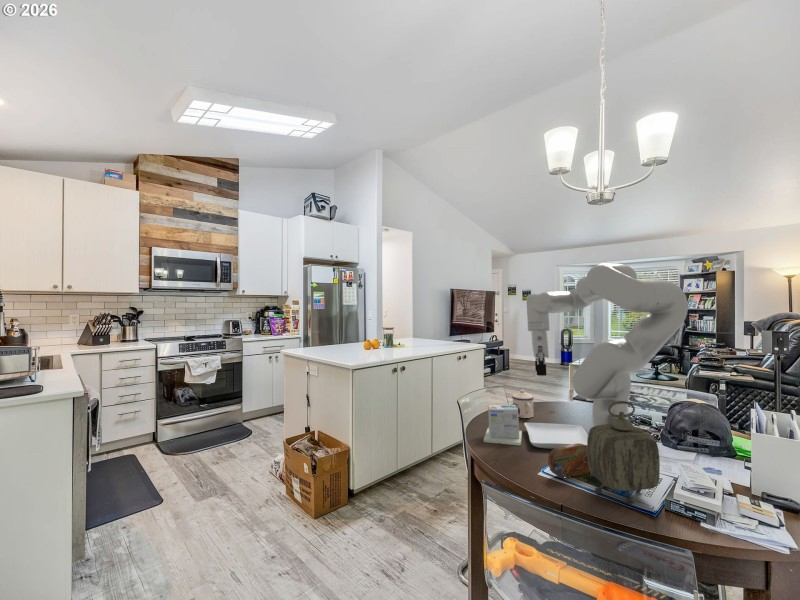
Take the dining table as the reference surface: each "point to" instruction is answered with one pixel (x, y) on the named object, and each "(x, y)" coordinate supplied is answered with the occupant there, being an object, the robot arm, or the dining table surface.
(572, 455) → the tin
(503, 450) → the dining table surface
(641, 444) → the tabletop clock
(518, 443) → the sage mat
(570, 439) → the salad plate
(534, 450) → the dining table surface
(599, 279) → the robot arm
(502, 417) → the light bulb box
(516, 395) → the teacup with lid
